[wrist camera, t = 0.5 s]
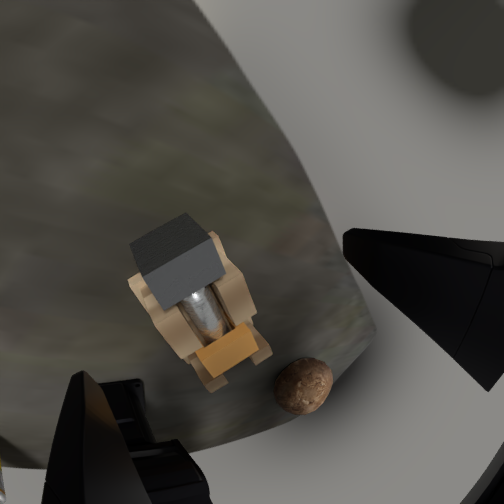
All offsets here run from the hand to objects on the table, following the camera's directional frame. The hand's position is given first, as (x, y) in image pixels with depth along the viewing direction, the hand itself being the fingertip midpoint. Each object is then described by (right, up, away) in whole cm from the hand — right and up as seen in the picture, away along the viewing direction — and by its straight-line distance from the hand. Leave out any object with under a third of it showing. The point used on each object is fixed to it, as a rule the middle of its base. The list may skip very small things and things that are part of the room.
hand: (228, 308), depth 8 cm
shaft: (-4, -1, +12) cm, 13 cm away
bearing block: (-4, -2, +15) cm, 16 cm away
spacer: (-2, -4, +14) cm, 15 cm away
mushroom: (+6, -14, +29) cm, 32 cm away
